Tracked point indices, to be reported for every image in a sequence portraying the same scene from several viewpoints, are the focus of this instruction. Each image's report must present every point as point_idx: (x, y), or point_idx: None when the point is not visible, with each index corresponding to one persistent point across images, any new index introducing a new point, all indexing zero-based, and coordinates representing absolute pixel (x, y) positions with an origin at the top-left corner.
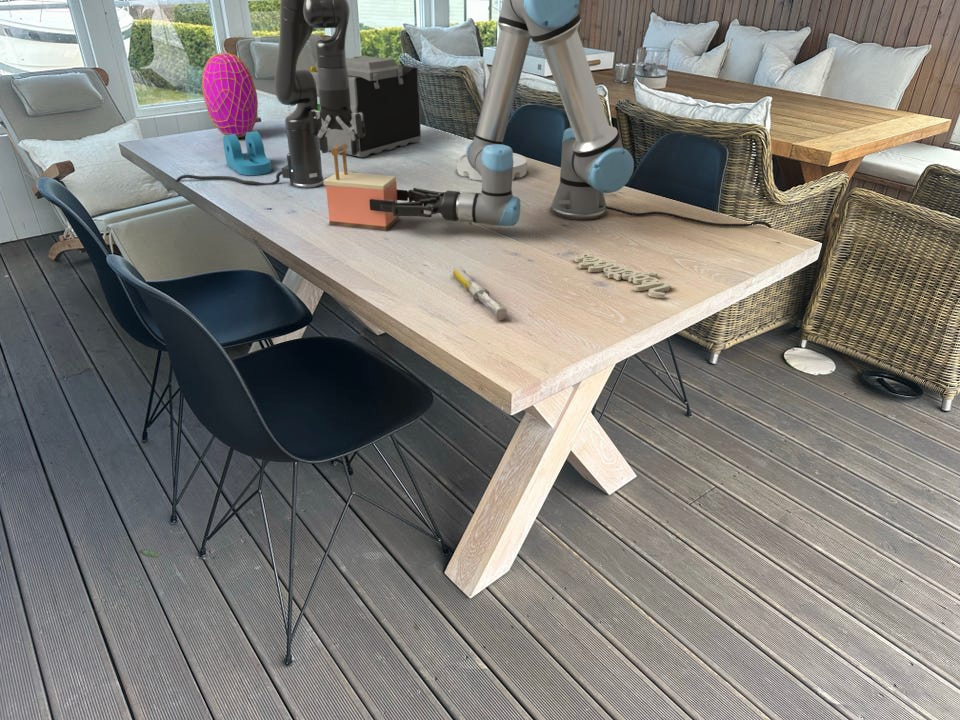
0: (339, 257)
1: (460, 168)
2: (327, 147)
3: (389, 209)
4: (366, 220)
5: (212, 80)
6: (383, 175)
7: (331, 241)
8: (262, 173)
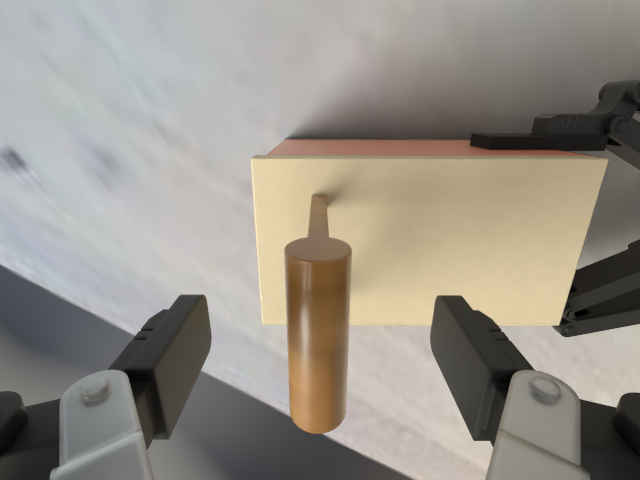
0: (404, 416)
1: None
2: (193, 313)
3: None
4: None
5: None
6: (533, 163)
7: (349, 347)
8: None
